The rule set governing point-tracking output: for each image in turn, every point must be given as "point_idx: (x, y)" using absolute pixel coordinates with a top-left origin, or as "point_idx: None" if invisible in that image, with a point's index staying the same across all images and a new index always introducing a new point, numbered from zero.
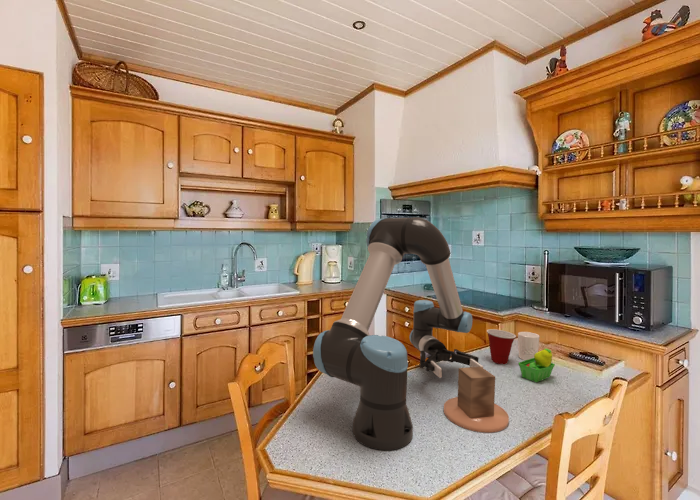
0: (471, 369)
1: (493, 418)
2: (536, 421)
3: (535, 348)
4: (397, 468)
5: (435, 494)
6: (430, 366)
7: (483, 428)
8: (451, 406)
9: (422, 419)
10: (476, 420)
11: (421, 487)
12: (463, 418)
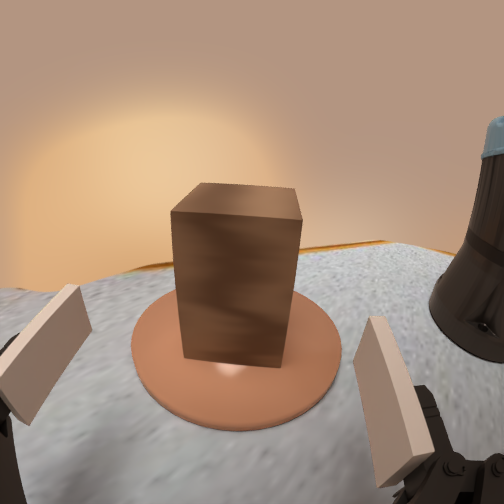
0: (244, 206)
1: None
2: (107, 288)
3: None
4: (439, 267)
5: (395, 242)
6: (431, 394)
7: None
8: (307, 366)
9: (409, 350)
10: None
11: (409, 248)
12: (300, 314)
